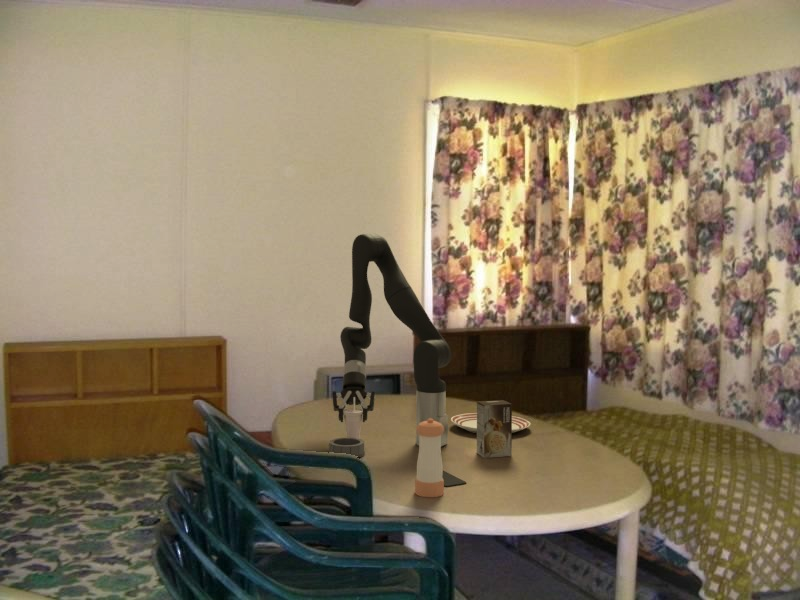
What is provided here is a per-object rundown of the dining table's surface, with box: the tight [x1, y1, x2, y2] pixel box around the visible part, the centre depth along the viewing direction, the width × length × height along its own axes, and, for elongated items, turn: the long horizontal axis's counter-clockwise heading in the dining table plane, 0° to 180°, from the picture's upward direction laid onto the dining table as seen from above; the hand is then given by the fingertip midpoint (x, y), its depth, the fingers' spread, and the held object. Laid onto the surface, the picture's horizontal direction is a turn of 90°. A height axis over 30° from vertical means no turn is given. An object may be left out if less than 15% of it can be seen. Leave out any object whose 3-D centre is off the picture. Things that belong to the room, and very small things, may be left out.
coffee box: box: [476, 399, 513, 459], centre depth 236 cm, size 9×6×16 cm
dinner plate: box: [450, 412, 532, 434], centre depth 270 cm, size 27×27×3 cm
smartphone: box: [442, 470, 467, 488], centre depth 212 cm, size 7×1×15 cm
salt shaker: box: [414, 418, 445, 498], centre depth 198 cm, size 7×7×19 cm
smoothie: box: [343, 397, 363, 439], centre depth 246 cm, size 6×6×14 cm
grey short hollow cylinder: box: [328, 437, 366, 458], centre depth 235 cm, size 11×11×4 cm
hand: (352, 420), depth 245 cm, fingers closed on smoothie, 6 cm apart
